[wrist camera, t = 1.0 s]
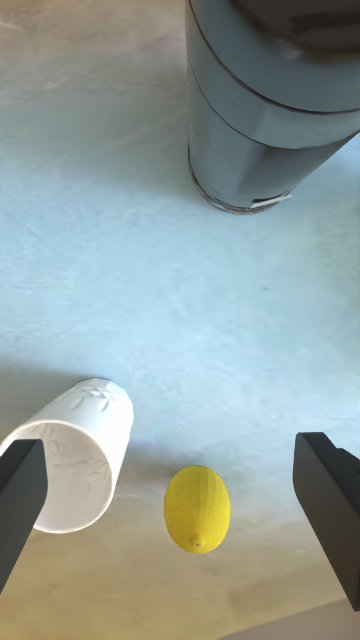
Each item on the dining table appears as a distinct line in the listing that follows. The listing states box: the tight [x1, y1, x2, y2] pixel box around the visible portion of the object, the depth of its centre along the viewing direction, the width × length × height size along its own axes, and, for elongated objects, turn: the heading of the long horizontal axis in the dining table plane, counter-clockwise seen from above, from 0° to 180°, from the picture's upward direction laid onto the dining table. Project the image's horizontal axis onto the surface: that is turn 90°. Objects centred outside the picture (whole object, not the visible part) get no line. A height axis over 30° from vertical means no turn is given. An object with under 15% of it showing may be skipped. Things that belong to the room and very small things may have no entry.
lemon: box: [164, 465, 231, 554], centre depth 27 cm, size 6×6×8 cm
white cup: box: [0, 378, 134, 533], centre depth 25 cm, size 8×8×10 cm
